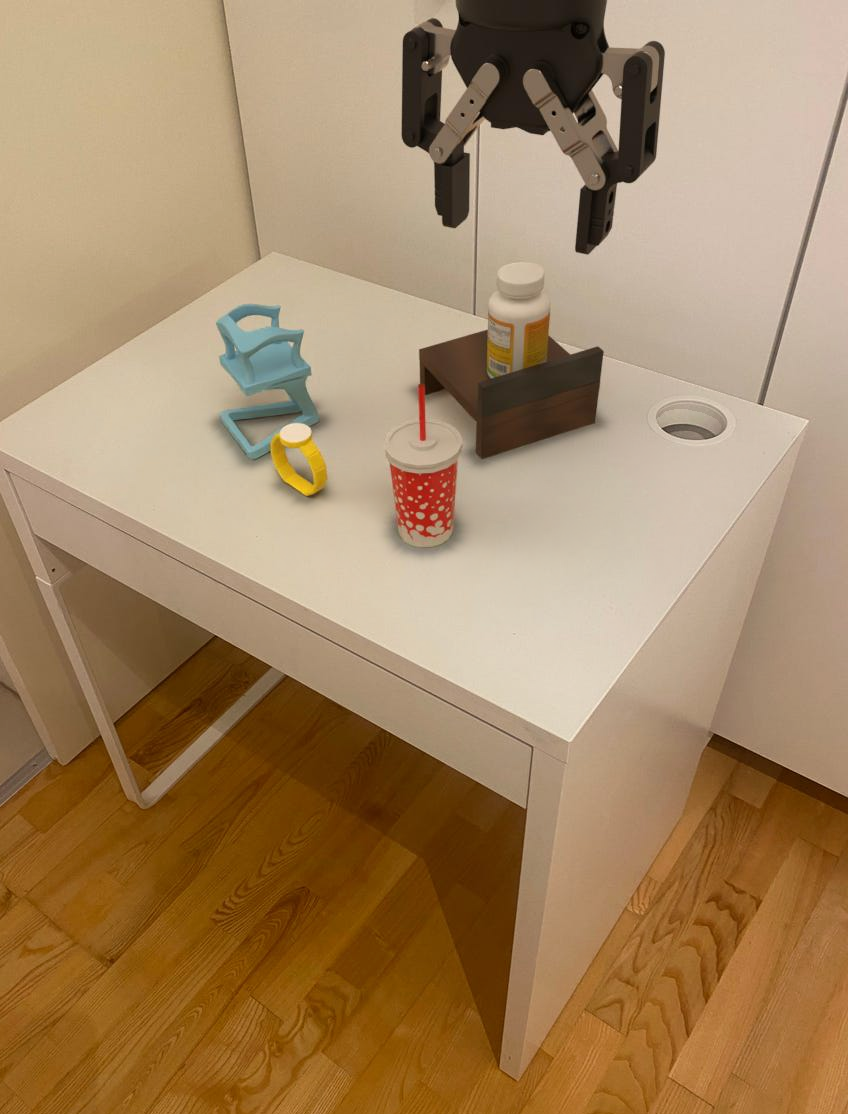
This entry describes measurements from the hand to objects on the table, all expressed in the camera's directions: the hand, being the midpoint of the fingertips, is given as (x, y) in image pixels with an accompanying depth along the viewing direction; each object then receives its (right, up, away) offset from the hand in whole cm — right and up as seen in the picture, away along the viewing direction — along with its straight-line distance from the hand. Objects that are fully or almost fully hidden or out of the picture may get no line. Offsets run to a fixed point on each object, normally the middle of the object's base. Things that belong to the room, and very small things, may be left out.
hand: (519, 235), depth 58 cm
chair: (-18, -3, +37) cm, 42 cm away
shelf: (+4, -1, +37) cm, 37 cm away
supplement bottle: (+5, +1, +33) cm, 33 cm away
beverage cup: (-4, -15, +26) cm, 30 cm away
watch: (-15, -10, +31) cm, 36 cm away
